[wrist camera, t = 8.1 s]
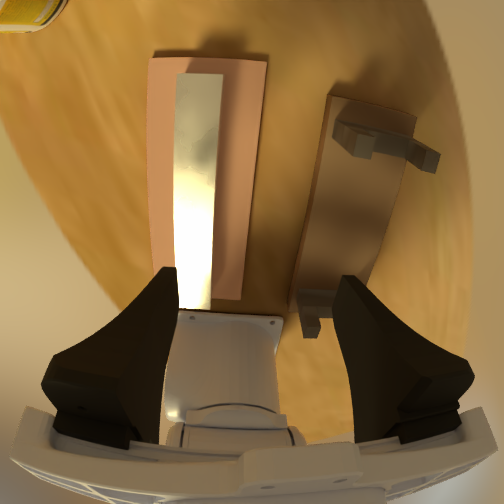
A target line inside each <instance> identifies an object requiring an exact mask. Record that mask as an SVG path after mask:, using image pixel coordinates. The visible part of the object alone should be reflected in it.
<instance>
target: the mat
mask: <svg viewBox="0 0 504 504" xmlns="http://www.w3.org/2000/svg"><path fill="white" fill-rule="evenodd" d="M266 66H267V62H263V61H253V60H241V59H226V58H201V57H168V58H149V67H148V88H147V182H148V204H149V221H150V235H151V247H152V258H153V269H154V276H155V275H156V274H157V273H158V271H159V270H160V269H161V268H162V267H163V266H165V267H176V263H175V238H174V184H173V174H174V122H175V98H176V81H177V73H218V74H226V75H225V86H224V97H223V109H222V121H221V134H220V148H219V163H218V178H217V195H216V214H215V235H214V259H213V289H212V298H213V299H227V300H241V291H242V281H243V272H244V263H245V253H246V244H247V235H248V226H249V216H250V207H251V198H252V189H253V180H254V171H255V162H256V153H257V144H258V136H259V127H260V118H261V109H262V101H263V92H264V83H265V75H266Z"/></svg>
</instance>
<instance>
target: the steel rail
mask: <svg viewBox="0 0 504 504" xmlns="http://www.w3.org/2000/svg"><path fill="white" fill-rule="evenodd" d="M225 75H226V74H218V73H177V81H176V98H175V122H174V174H173V184H174V238H175V263H176V267H177V275H178V287H179V299H180V306H179V307H180V308H192V309H205V310H210V308H211V298H212V289H213V259H214V235H215V214H216V195H217V178H218V163H219V148H220V134H221V121H222V109H223V97H224V86H225Z"/></svg>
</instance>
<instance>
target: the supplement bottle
mask: <svg viewBox="0 0 504 504" xmlns="http://www.w3.org/2000/svg"><path fill="white" fill-rule="evenodd" d="M66 2H67V0H0V33H29V32H35V31H38V30H40V29H42V28H44V27H46V26H47V25H48V24H50V23H51V22H52V21H53V20H54V19H55V18H56V17H57V16H58V15H59V13H60V12H61V11H62V9H63V8H64V6H65V4H66Z"/></svg>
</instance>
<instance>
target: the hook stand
mask: <svg viewBox="0 0 504 504" xmlns="http://www.w3.org/2000/svg"><path fill="white" fill-rule="evenodd" d="M416 120H417V117H415V116H413V115H410V114H408V113H404V112H401V111H397V110H394V109H390V108H386V107H382V106H378V105H374V104H370V103H366V102H362V101H357V100H353V99H348V98H344V97H339V96H334V95H328V94H327V99H326V106H325V112H324V118H323V124H322V130H321V136H320V142H319V147H318V153H317V158H316V164H315V169H314V175H313V180H312V185H311V191H310V196H309V201H308V206H307V211H306V216H305V221H304V226H303V231H302V236H301V240H300V245H299V250H298V254H297V259H296V264H295V268H294V273H293V277H292V282H291V286H290V290H289V295H288V299H287V307H288V312H299V317H300V322H301V327H302V332H303V338H317V337H318V334H319V332H320V329H321V325H320V321H319V318H333V315H332V305H333V302H334V299H335V296H336V293H337V290H338V287H339V283H340V280H341V277H342V275H355V276H356V277H357V278H358V279H359V280H360V281H361V282H362V283H363V284H364V285H365V286H366V284H367V282H368V279H369V277H370V274H371V271H372V269H373V266H374V263H375V261H376V258H377V255H378V252H379V249H380V247H381V244H382V241H383V238H384V235H385V232H386V229H387V226H388V223H389V220H390V217H391V214H392V210H393V207H394V204H395V201H396V197H397V194H398V191H399V187H400V184H401V180H402V176H403V173H404V169H405V165H406V162H407V160H408V161H409V162H410V163H412V164H413V165H415V166H416V167H417V168H419V169H420V170H421V171H425V172H430V173H434V174H435V172H436V169H437V165H438V162H439V158H440V155H441V154H440V153H438V152H436V151H435V150H433V149H431V148H429V147H428V146H426V145H424V144H422V143H421V142H419V141H417V140H415V139H414V138H412V137H413V133H414V129H415V124H416Z"/></svg>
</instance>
